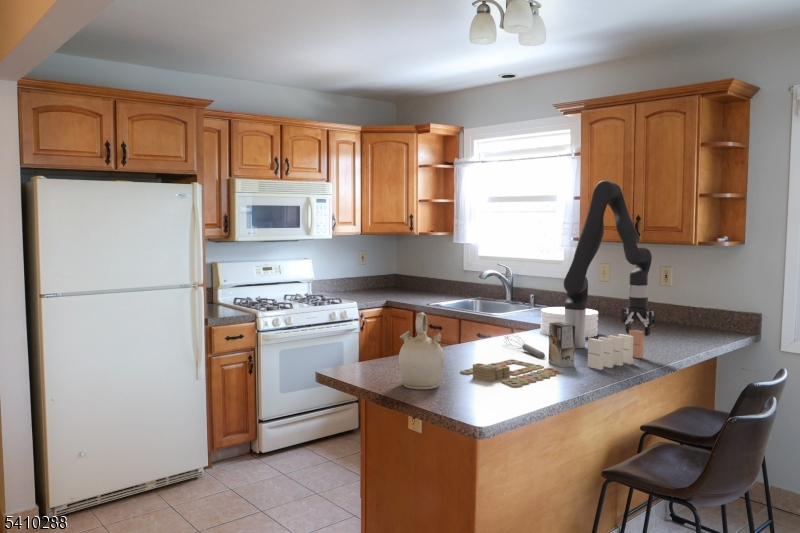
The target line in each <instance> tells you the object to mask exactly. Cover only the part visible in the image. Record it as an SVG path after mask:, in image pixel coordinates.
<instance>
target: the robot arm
mask: <svg viewBox="0 0 800 533" xmlns="http://www.w3.org/2000/svg"><path fill="white" fill-rule="evenodd" d="M591 195H592V196H591V200H590V205H589V208H588V211H587V215H586V219H585V221H584V224H583V228H582V229H581V233H580V236H579V239H578V243H577V245H576V247H575V251H574V256H573V259H572V262H571V264H570V267H569V269H568V271H567V273H566V275H565V277H564V280H563V288H564V290H565V292H566V299H565V301H564V307H565V313H564V323H567V324H571V325H575V349H583V348H585V347H586V338H585V322H586V309H587V303H588V296H589V295H588V293H589V280H588V278H587V273H588V270H589V266H590V265H591V262H592V261H593V259H594V258H595V256H596V254H597V253H598V251H599V249H600V246H601V244H602V240H603V238H604V234H605V232H604V231H605V229H604V228H605V226H604V216H605V212H606V208H607V206H609V207H610V209H611V211H612V213H613V217H614V222H615V223H614V224H615V228H616V232H617V234H618V236H619V238H620V241H621V242H622V246H623V247H622V248H623V252H624V257H625V259H626V261H627V262H628V263H629V264H631V265H633V266H635V268H634V270H632V271H630V273H629V286H628V308H627V307H626V308H625V307H624V308H622V309H621V323H624V324H625V333H626V334H627V335H629V330H632V323H633V321H639V322H640V321H641V323H642V324H643V325H644V326H645V327H644V337H649V336H650V335H651V327H654V326H655V325H656V319H655V318H656V316H655V314H656V313H655V311H654V310H651V311H650V310H649V311H648V306H649V287H648V281H649V280H648V277H649V272H650V268H651V265H652V260H653V259H652V258H653V257H652V256H653V255H652V253H651V250H650V249H649V248H647V247H638V245H637V244H638V243H639V242H640V235H639V233H638V231H637V229H636V227H635V225H634V223H633V221H632V218H631V216H630V213H629V211H628V208H627V205H626V201H625V199H624V195H623V190H622V188H621V187H620V185H619V184H618V183H616V182H612V181H609V180H601V181H599V182H597V184H596V185H595V186H594V189H593V192H592V194H591Z"/></svg>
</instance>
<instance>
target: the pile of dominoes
mask: <svg viewBox="0 0 800 533" xmlns="http://www.w3.org/2000/svg"><path fill="white" fill-rule="evenodd" d="M510 365H516V366H517V365H518V366H523V367H522V368H519V369H514V370H510ZM459 374H461V375H466V376H467V375H468V376H469V375H472V379H474V380H477V381H482V382H486V383H493V382H496V381H500V380H501V384H504V385H506V386H508V387H511V388H513V389H514V388H522V387H523V386H527V385H528V386H529V385H530V384H533V383H537V382H540V381H541V382H542V381H544V380H547V379H550V378H551V377H557V374H558V375H563V372H562V371H560V370H558V369H555V368H553V367H545V366H544V365H540V364H535V363H530V362H528V361H527V362H526V361H520V360H517V359H513V358H512V359H511V358H510V359H506V360H503V361H499V362H498V361H497V362H491V363H487V364H485V363H480V362H479V363H473V364H472V368H466V369H463V370H460V371H459ZM522 374H523V375H522ZM511 376H514V377H511Z"/></svg>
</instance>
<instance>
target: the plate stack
mask: <svg viewBox="0 0 800 533" xmlns="http://www.w3.org/2000/svg"><path fill="white" fill-rule="evenodd" d="M540 313H541V314H540V318H541V319H540V330H539V332H540V333H542V335H546V336H549V323H556V322H563V323H564V313H565V306H551V307H543V308H540ZM598 321H599V311H598V310H596V309H592V308H591V309H590V308H586V322H585V339H586V338H587V337H588V338H593V337H594V336H595V337H597V336H598V330H599V327H598V325H599V322H598Z"/></svg>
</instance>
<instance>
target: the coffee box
mask: <svg viewBox="0 0 800 533" xmlns="http://www.w3.org/2000/svg"><path fill="white" fill-rule="evenodd" d="M575 350H576V348H575V325H571V324H567V323H563V322H556V323H549V335H548V364H551V365H554V366H556V367H559V368H569V367H574V366H575Z"/></svg>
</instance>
